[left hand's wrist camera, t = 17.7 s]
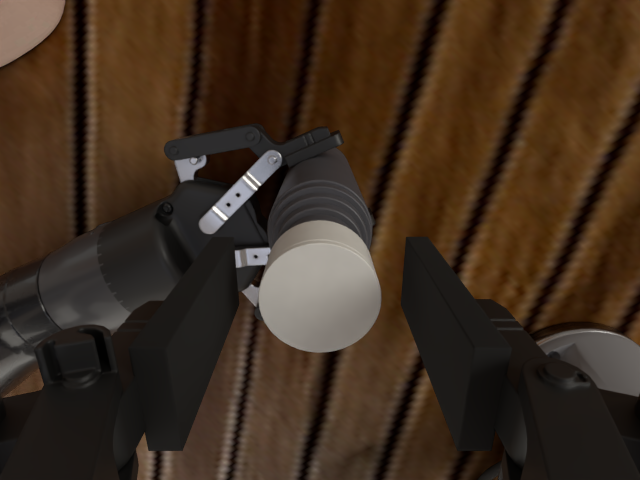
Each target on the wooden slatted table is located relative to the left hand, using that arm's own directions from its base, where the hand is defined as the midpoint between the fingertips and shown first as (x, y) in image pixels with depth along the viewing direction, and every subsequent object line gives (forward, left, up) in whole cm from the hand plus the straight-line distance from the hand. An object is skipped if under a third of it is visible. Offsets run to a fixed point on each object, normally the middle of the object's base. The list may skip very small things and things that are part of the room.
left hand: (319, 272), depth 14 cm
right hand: (+2, -2, -12) cm, 13 cm away
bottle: (0, 0, -19) cm, 19 cm away
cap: (0, 0, +2) cm, 2 cm away
